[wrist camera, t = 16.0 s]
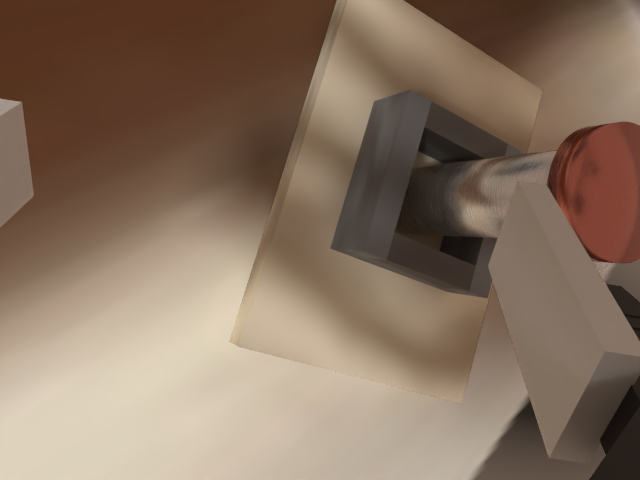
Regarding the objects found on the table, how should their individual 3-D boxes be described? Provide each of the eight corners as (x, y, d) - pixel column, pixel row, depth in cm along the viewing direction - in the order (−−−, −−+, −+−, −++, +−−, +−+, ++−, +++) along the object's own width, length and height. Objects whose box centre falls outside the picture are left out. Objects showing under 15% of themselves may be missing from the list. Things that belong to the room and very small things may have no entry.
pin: (390, 139, 35) (602, 96, 23) (457, 177, 37) (681, 157, 25) (360, 227, 34) (563, 233, 22) (431, 260, 37) (648, 282, 24)
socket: (343, -21, 35) (392, -56, 31) (525, 94, 42) (587, 79, 38) (229, 341, 32) (265, 360, 28) (446, 397, 39) (501, 419, 35)
